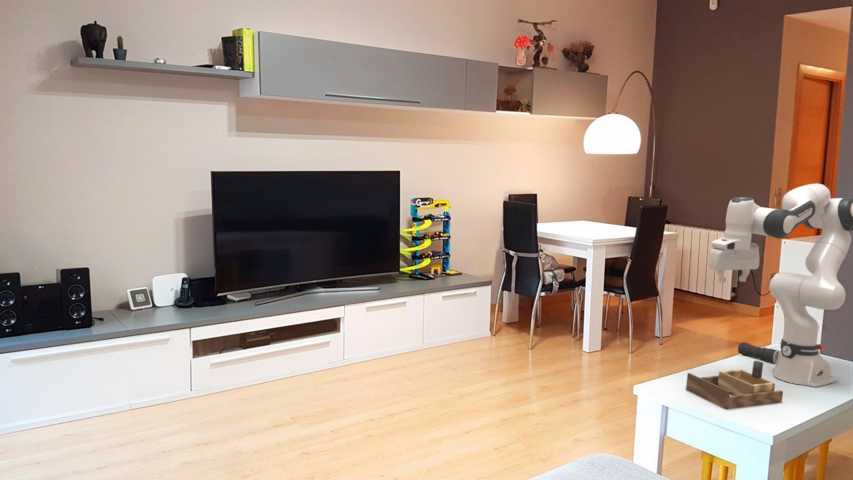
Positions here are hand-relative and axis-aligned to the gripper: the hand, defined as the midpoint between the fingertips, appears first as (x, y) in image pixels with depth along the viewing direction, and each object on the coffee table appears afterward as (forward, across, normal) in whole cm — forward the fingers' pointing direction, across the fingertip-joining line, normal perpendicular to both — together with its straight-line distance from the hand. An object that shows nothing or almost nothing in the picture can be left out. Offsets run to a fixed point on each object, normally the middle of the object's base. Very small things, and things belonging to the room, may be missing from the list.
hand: (732, 281), depth 248 cm
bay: (+37, +9, +15) cm, 41 cm away
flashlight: (+37, -39, -19) cm, 57 cm away
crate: (+36, +4, +15) cm, 39 cm away
